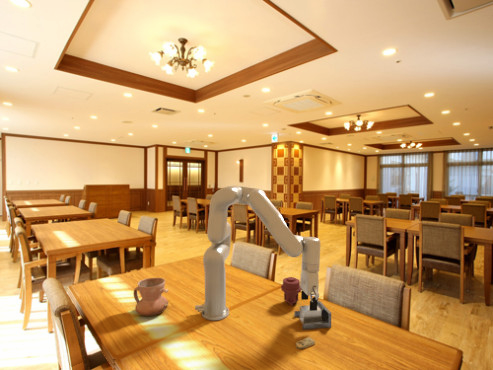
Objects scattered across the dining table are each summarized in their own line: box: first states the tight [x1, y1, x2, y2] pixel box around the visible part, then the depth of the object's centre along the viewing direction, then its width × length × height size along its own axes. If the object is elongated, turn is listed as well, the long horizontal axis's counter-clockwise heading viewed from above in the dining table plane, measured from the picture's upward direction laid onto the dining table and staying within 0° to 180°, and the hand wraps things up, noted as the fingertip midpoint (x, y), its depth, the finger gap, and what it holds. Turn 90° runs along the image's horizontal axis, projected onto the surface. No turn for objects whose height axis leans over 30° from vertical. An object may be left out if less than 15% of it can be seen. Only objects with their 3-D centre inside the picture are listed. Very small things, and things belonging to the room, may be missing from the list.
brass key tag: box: [295, 336, 316, 350], centre depth 100 cm, size 7×3×1 cm, turn 119°
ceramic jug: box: [133, 277, 169, 317], centre depth 125 cm, size 18×14×14 cm
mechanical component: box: [281, 276, 302, 306], centre depth 133 cm, size 12×10×10 cm
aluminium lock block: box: [299, 304, 322, 324], centre depth 116 cm, size 9×5×6 cm, turn 99°
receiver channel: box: [293, 300, 332, 331], centre depth 116 cm, size 12×11×6 cm
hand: (308, 304), depth 116 cm, fingers open, 9 cm apart
